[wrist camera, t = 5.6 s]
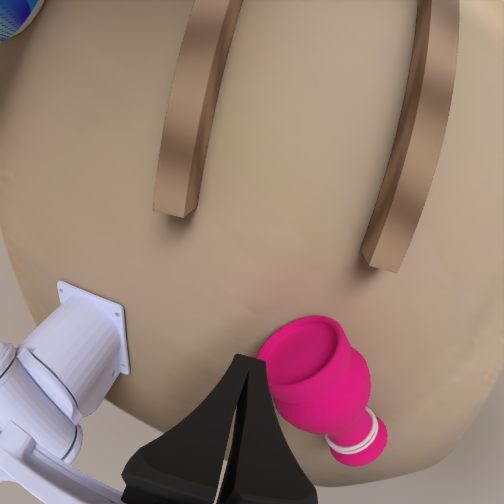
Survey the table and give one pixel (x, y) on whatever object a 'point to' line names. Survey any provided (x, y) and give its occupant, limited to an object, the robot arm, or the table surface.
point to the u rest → (405, 145)
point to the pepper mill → (324, 387)
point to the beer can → (17, 16)
